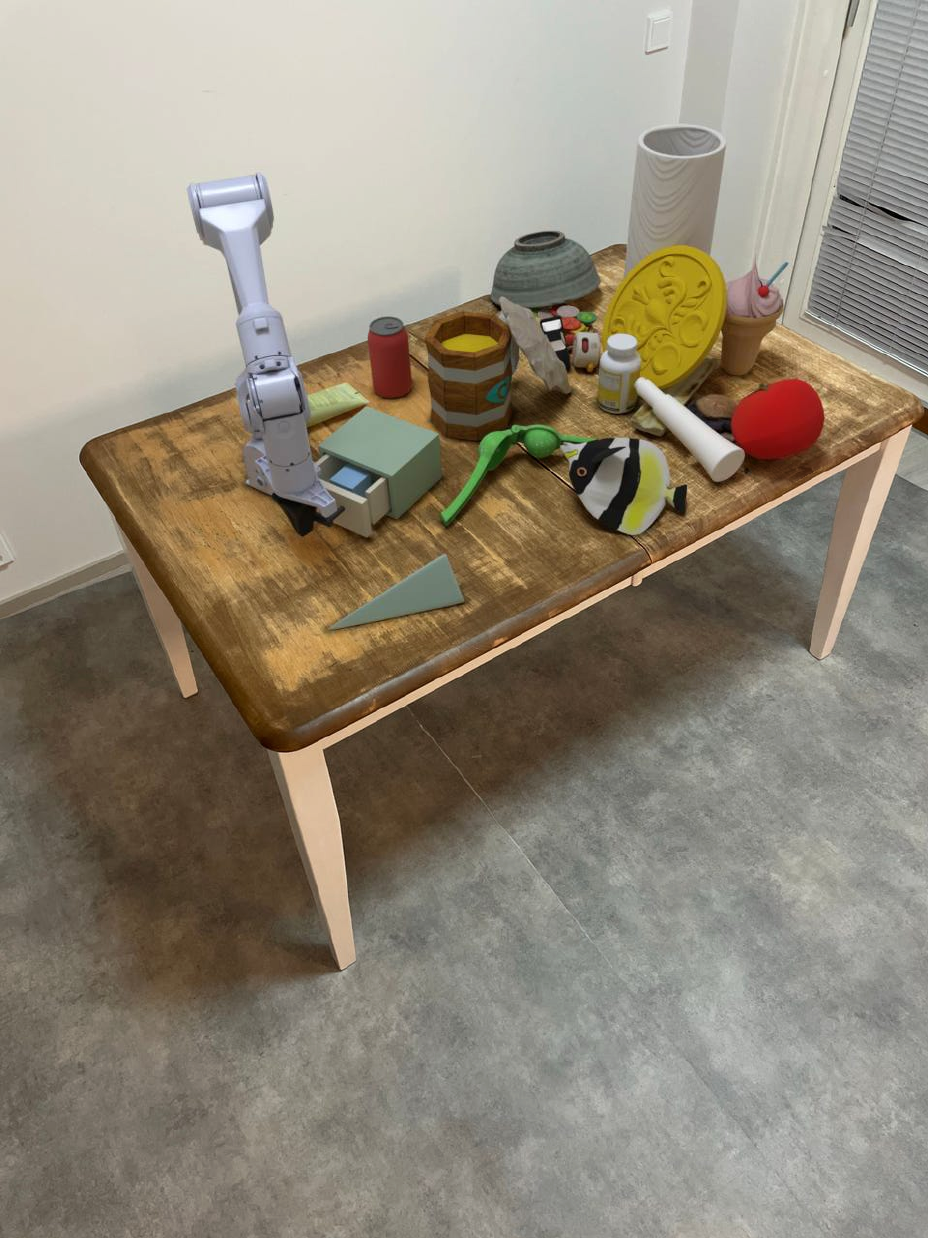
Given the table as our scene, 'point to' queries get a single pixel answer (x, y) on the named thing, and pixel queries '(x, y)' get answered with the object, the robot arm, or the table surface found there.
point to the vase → (674, 190)
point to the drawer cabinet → (389, 454)
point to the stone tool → (535, 345)
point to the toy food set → (568, 320)
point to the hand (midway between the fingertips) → (304, 531)
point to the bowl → (544, 271)
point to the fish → (622, 481)
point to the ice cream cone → (748, 319)
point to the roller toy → (586, 350)
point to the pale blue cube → (352, 480)
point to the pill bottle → (619, 374)
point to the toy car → (556, 338)
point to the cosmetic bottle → (693, 433)
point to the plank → (679, 391)
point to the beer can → (389, 357)
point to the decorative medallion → (669, 312)
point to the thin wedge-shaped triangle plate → (411, 595)
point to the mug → (471, 374)
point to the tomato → (778, 419)
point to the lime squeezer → (494, 449)
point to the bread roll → (715, 413)
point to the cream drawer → (353, 499)
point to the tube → (332, 403)
